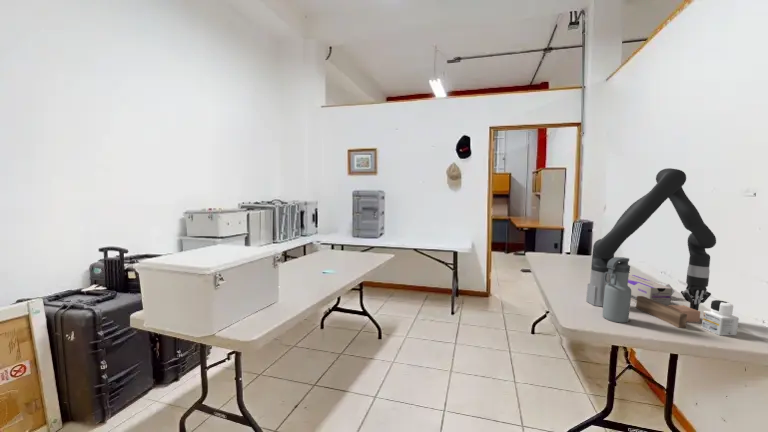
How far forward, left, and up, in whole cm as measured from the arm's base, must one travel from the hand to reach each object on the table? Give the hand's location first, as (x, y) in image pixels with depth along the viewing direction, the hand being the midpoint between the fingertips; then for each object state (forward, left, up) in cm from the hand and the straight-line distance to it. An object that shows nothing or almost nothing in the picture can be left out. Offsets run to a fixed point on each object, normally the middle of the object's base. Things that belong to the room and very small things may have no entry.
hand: (693, 311), depth 159 cm
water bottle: (-41, -4, -3) cm, 41 cm away
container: (-3, -15, -3) cm, 16 cm away
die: (+11, +30, -3) cm, 32 cm away
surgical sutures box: (-6, +24, -4) cm, 25 cm away
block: (-6, -1, -3) cm, 7 cm away
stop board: (-17, 0, -3) cm, 17 cm away
